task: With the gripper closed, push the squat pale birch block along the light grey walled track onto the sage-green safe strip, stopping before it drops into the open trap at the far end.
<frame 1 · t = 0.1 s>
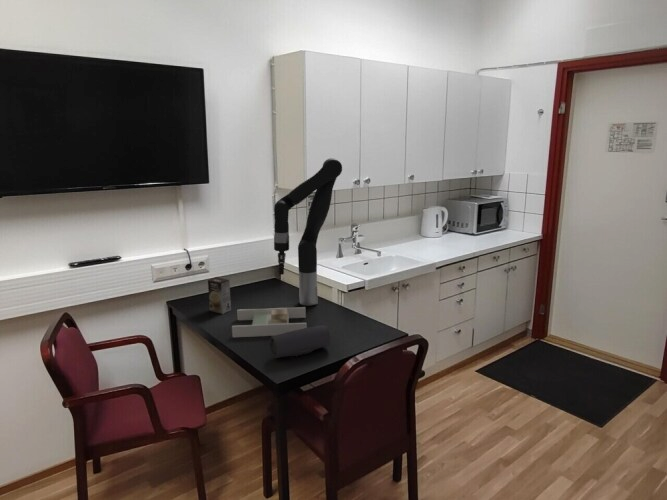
hand: (281, 271, 236), 17 cm above the table, tool pointing down, fingers open, 8 cm apart
coffee box: (220, 310, 232), on the table
bluetooth speaker: (300, 353, 186), on the table
birch block: (279, 320, 211), point 3 cm above the table, touching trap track
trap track: (271, 326, 212), on the table
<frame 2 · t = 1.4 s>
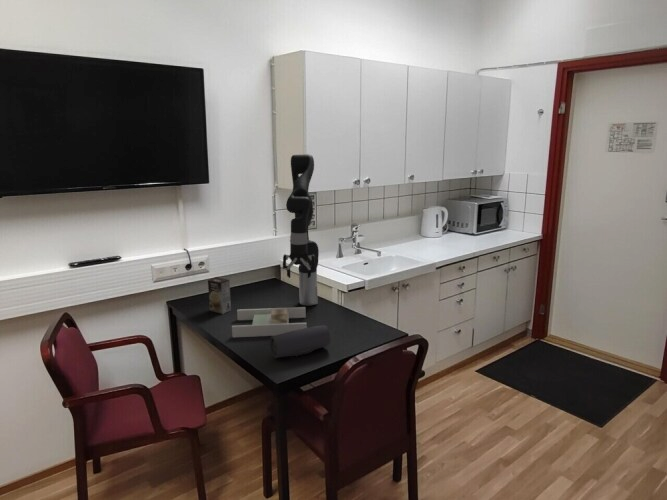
hand: (298, 277, 208), 23 cm above the table, tool pointing down, fingers open, 8 cm apart
nothing on the table moved.
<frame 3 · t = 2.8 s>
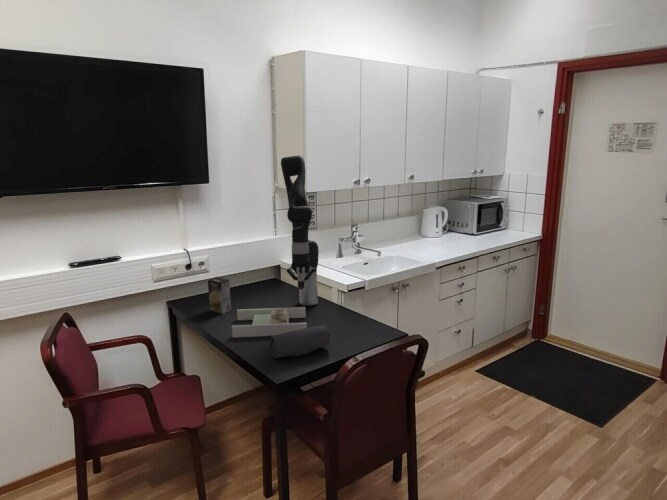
hand: (301, 288, 208), 18 cm above the table, tool pointing down, fingers closed
nothing on the table moved.
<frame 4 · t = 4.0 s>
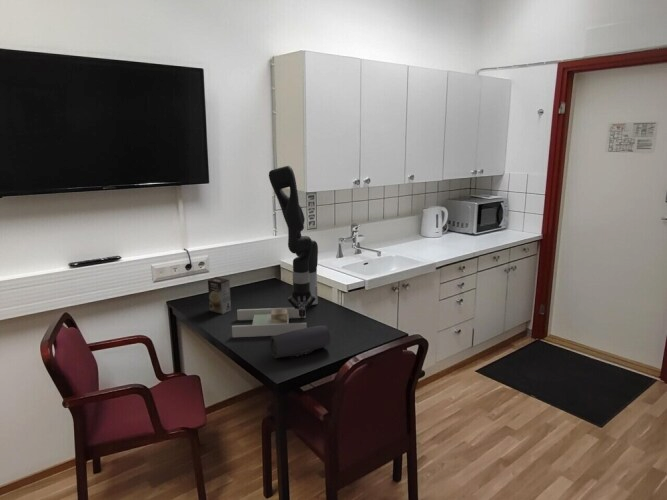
hand: (302, 316, 212), 4 cm above the table, tool pointing down, fingers closed
nothing on the table moved.
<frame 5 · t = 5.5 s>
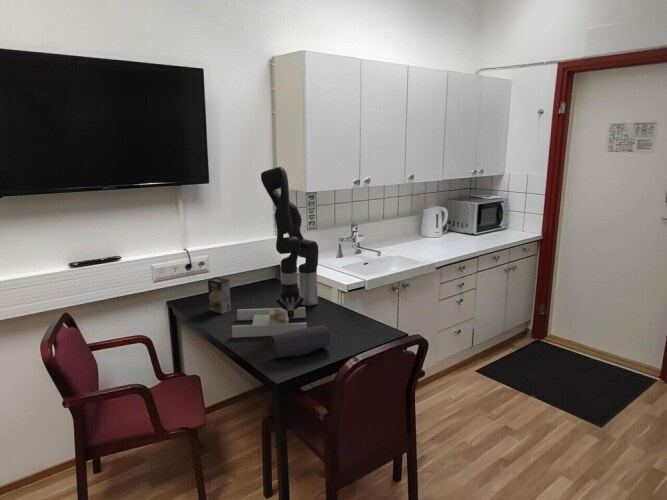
hand: (290, 317, 211), 4 cm above the table, tool pointing down, fingers closed
birch block: (278, 320, 211), point 3 cm above the table, touching gripper, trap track
everything else where it was.
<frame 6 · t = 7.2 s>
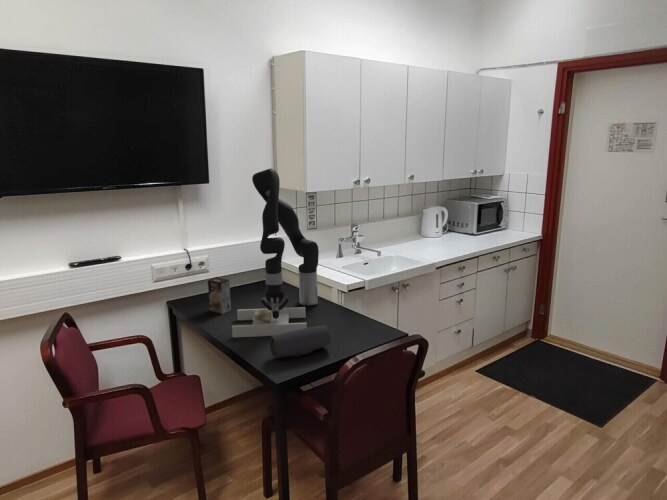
hand: (275, 318, 211), 4 cm above the table, tool pointing down, fingers closed
birch block: (263, 320, 211), point 3 cm above the table, touching gripper, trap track
everything else where it was.
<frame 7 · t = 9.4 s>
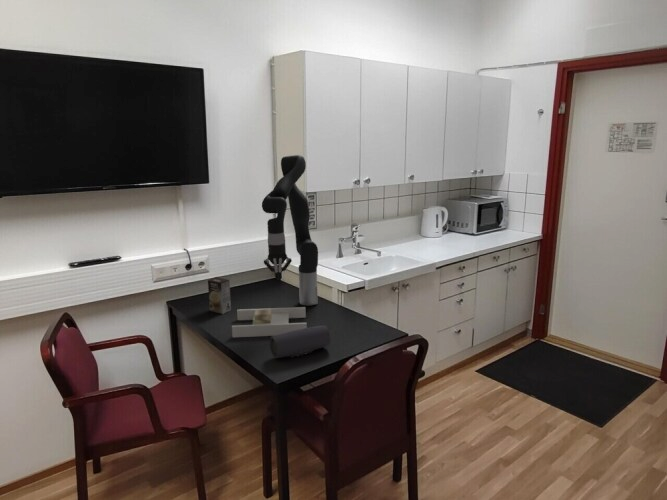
hand: (278, 279, 209), 21 cm above the table, tool pointing down, fingers closed
birch block: (263, 320, 211), point 3 cm above the table, touching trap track
everything else where it was.
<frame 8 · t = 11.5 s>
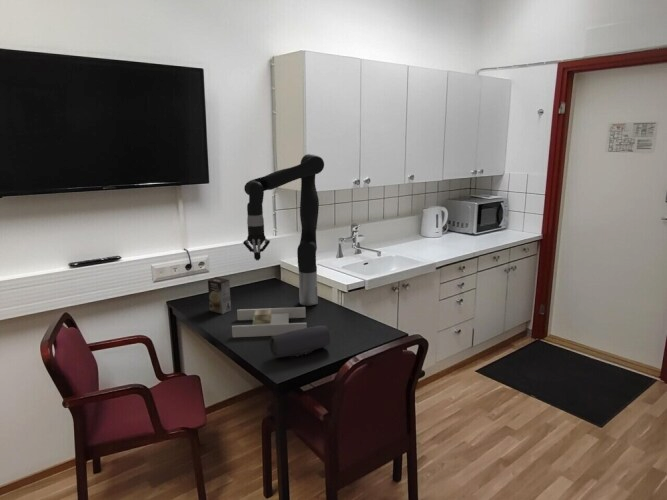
hand: (257, 260, 221), 27 cm above the table, tool pointing down, fingers closed
nothing on the table moved.
at the end: birch block inside the target area on the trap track (1.4 cm from its centre), point 3.0 cm above the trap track's base; birch block tilted 0°; birch block touching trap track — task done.
